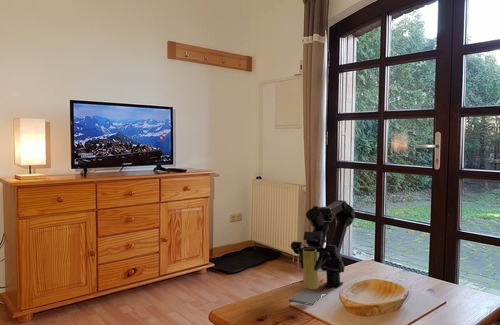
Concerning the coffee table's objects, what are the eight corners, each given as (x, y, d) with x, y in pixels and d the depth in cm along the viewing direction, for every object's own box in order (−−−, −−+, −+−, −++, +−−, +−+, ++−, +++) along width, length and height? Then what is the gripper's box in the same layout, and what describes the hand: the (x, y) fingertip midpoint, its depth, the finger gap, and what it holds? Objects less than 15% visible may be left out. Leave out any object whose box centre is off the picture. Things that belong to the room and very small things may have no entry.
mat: (304, 290, 166) (304, 289, 166) (326, 294, 160) (326, 293, 160) (289, 300, 155) (289, 299, 155) (312, 305, 149) (312, 303, 149)
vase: (317, 290, 148) (315, 252, 148) (301, 288, 151) (299, 251, 150) (320, 284, 154) (319, 248, 153) (305, 283, 156) (303, 247, 156)
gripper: (291, 221, 160) (279, 255, 151) (335, 224, 150) (325, 261, 141) (300, 236, 167) (289, 270, 158) (343, 240, 157) (334, 276, 148)
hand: (308, 269), depth 151 cm, fingers closed on vase, 5 cm apart
